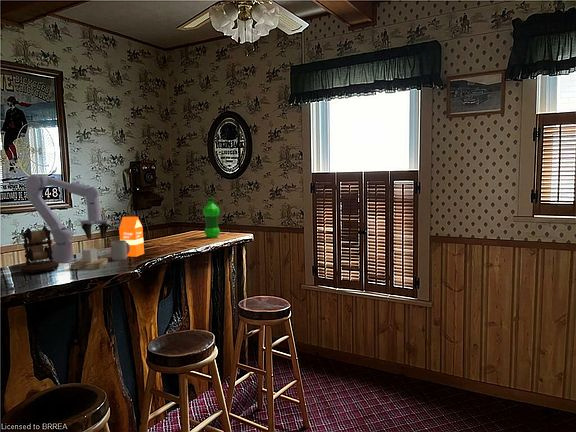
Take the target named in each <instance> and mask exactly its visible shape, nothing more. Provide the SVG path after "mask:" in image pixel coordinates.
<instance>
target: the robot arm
mask: <svg viewBox="0 0 576 432" xmlns="http://www.w3.org/2000/svg"><path fill="white" fill-rule="evenodd" d="M24 186H25V189H26V198H27V199H28V201H29V202H30V203H31V205H32V206H33V208H34V209H35V210H36V212H37V213H38V214H39V215H40V216H41V218H42V219H43V220H44V222H45V223H46V224H47V227H49V230H50V231H51V233H50V234H51V235H52V238H53V241H54V242H55V243H52V244H51V247H52V249H51V250H52V251H53V253H52V257H53V260H52V261H55V262H57V263H59V264H61V263H64V264H65V263H70V262H73V261H76V260H77V261H78V258H76V257H75V258H74V250H73V241H72V238H74V237H73V236H74V233H73V231H72V230H71V229H69V228H67V226H66V225H64V223H61V221H60V220H59V218H58V217H57V216H56V215H55V213H54V212H53V211H52V209H51V208H50V206H49V205H48V204H47V202H46V201H45V200H44V199H43V197H42V194H43V190H44V189H45V188H46V187H49V186H53V187H56V188H61V189H64V190H68V191H69V193H70V194H73V195H76V196H80V197H83V198H84V197H85V198H86V208H87V209H86V211H87V219H86V220H85V219H84V220H80V222H79V224H80V226H81V229H82V230H83V232H84V233H85V236H86V239H87V240H90V239H92V225H98V228H99V230H100V237H101V240H105V239H106V235H107V231H108V228H110V227H109V226H110V224H111V223H110V219H102V217H101V215H102V214H101V206H100V205H101V204H100V197H99V196H100V194H101V192H100V190H99V188H97V187H95V186H91V185H90V184H87V185H86V184H83V183H81V182H80V181H76V182H75V181H73V182H71V183H70V182H67V181H64V180H61V179H58V178H55V177H51V176H46V175H43V174H42V175H40V174H39V175H30V176H28V177H27V178H26V180H25V183H24Z"/></svg>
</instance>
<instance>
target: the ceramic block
mask: <svg viewBox="0 0 576 432" xmlns="http://www.w3.org/2000/svg"><path fill="white" fill-rule="evenodd" d="M81 256H82V258H81V259H83V262H94V261H97V260H98V258H99V257H98V248H89V247H88V248H85V249H82V250H81Z"/></svg>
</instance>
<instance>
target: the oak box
mask: <svg viewBox="0 0 576 432" xmlns="http://www.w3.org/2000/svg"><path fill="white" fill-rule="evenodd" d="M108 261H109V260H108V257H98V260H97V261H94V262H83V258H81V259H79V260H77V261H76V262H74V263H72V264H71V265H70V266H71V270H72V269H88V270H100V269H101V267H102V268H103V267H104V266H106V265H107V264H108V263H109V262H108Z"/></svg>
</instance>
